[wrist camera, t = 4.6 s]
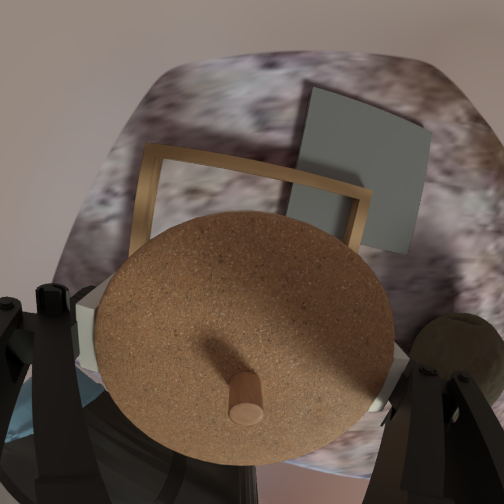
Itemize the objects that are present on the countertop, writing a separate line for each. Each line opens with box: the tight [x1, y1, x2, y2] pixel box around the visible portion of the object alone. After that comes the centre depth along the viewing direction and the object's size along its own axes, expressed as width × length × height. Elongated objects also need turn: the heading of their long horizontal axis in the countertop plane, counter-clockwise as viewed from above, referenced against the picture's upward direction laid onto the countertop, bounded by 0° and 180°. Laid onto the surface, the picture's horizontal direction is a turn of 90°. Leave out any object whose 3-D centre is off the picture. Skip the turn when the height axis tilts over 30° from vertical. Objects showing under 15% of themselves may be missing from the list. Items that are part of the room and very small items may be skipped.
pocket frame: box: [128, 143, 373, 258], centre depth 29 cm, size 16×22×3 cm
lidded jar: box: [94, 210, 395, 466], centre depth 12 cm, size 11×11×9 cm
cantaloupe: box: [409, 313, 504, 422], centre depth 28 cm, size 14×14×15 cm
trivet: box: [284, 87, 432, 255], centre depth 29 cm, size 15×15×1 cm
